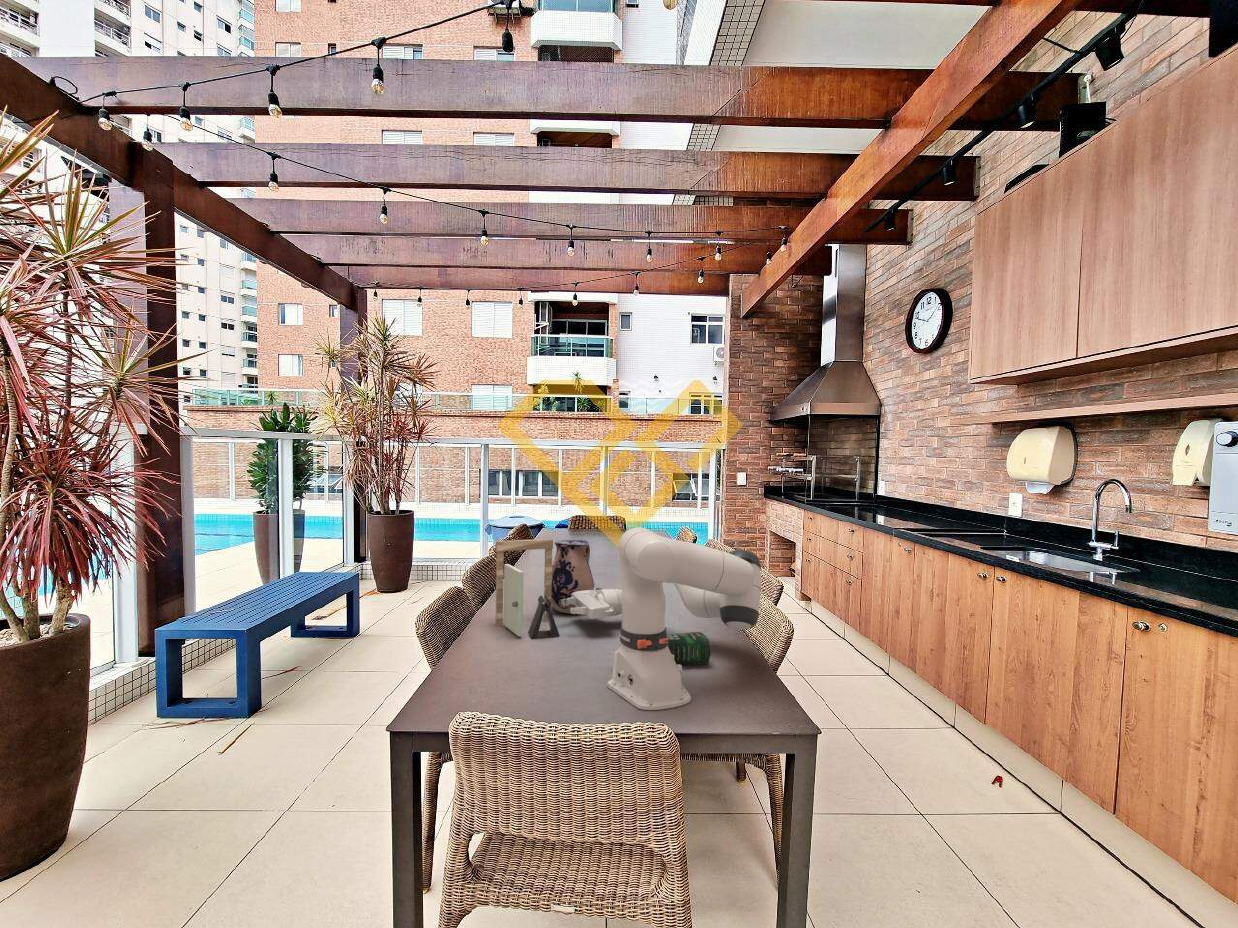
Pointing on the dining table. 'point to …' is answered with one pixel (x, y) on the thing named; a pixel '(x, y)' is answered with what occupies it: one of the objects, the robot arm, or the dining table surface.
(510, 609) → the door
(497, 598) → the door frame
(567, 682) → the dining table surface
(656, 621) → the robot arm
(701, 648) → the coffee jar
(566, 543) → the ceramic pitcher
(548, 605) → the phone stand
